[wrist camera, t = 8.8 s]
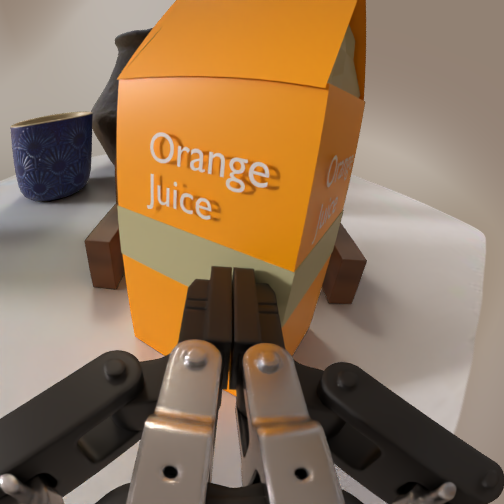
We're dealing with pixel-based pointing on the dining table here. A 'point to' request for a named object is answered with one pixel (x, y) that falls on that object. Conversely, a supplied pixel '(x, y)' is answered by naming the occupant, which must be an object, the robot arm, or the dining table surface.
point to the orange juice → (237, 152)
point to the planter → (52, 154)
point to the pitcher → (114, 93)
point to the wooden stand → (112, 269)
